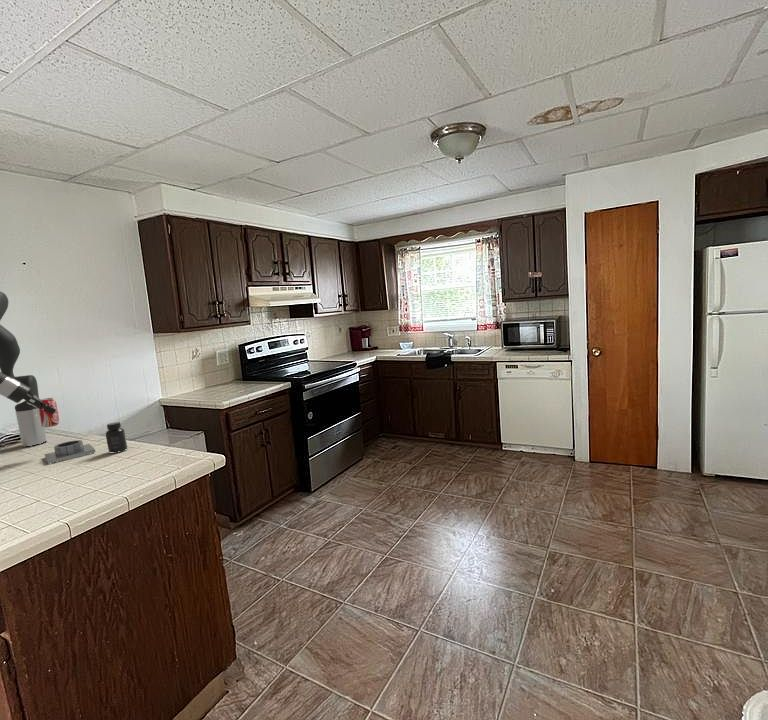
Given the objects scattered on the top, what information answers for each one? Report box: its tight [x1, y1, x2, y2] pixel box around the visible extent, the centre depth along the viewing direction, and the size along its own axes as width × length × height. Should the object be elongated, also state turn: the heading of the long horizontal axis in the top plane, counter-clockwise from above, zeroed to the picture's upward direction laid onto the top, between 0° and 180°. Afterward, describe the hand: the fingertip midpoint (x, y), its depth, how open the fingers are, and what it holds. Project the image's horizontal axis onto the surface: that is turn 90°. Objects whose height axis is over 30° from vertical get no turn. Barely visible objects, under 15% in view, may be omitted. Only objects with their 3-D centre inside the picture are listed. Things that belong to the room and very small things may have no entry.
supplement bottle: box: [105, 421, 128, 453], centre depth 182 cm, size 7×7×12 cm
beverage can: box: [38, 397, 61, 429], centre depth 185 cm, size 6×6×12 cm
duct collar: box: [44, 439, 96, 465], centre depth 182 cm, size 14×16×5 cm
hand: (53, 411), depth 186 cm, fingers closed on beverage can, 6 cm apart
